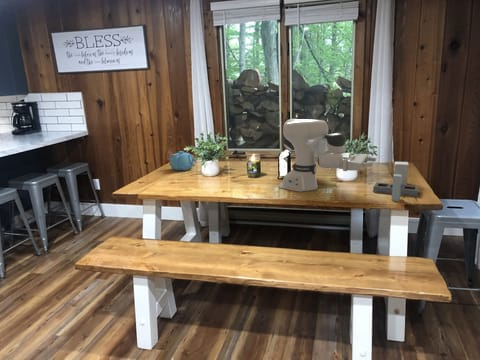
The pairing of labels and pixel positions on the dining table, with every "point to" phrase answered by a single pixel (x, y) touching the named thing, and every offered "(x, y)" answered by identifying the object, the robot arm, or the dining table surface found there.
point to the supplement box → (402, 171)
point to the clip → (396, 187)
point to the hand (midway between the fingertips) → (374, 162)
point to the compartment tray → (387, 189)
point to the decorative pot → (181, 161)
